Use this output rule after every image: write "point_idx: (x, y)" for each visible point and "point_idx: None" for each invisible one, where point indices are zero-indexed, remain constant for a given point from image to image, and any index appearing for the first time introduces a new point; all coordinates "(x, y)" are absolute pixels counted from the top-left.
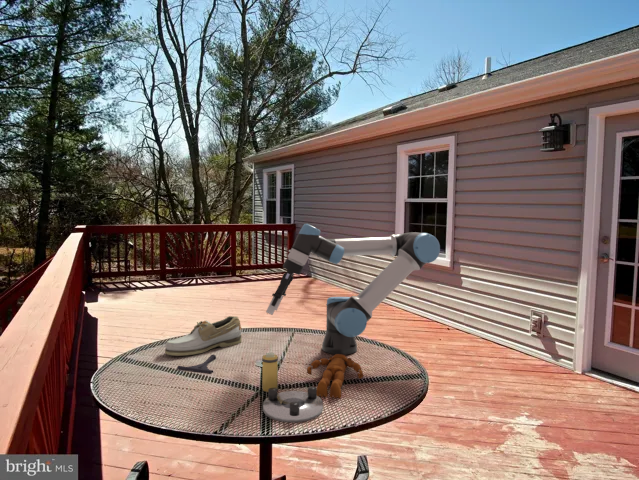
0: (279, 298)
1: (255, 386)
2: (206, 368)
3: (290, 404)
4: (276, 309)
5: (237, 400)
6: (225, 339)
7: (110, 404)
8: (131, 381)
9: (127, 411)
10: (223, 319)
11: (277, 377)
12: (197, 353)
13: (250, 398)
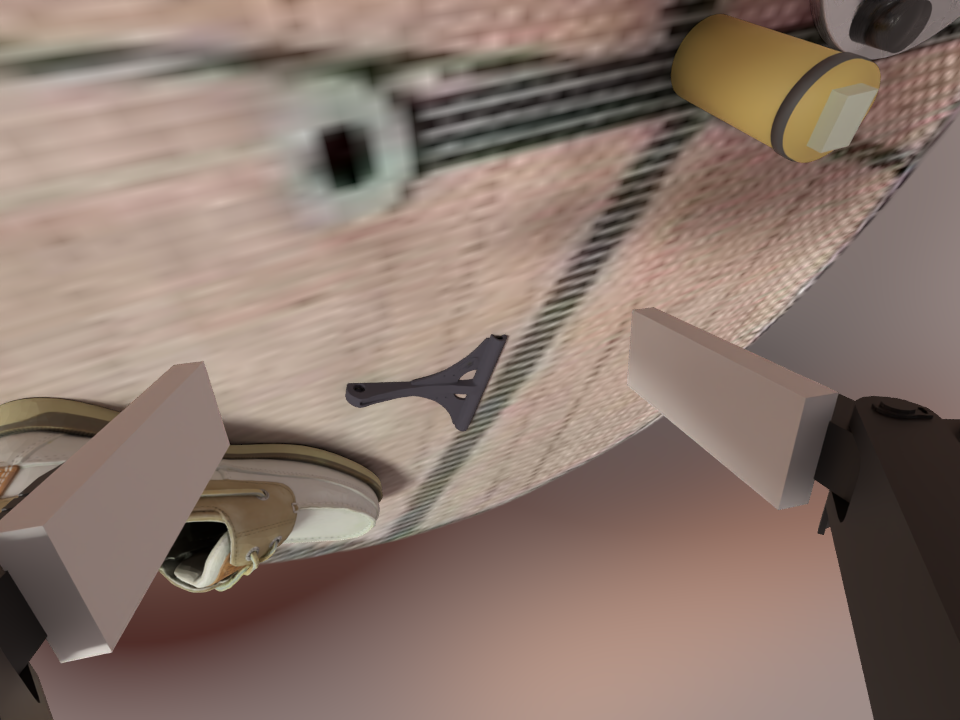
0: (899, 405)
1: (657, 138)
2: (464, 365)
3: None
4: (201, 373)
5: (751, 173)
6: None
7: (656, 414)
8: (546, 450)
9: None
10: None
11: (758, 27)
12: (319, 449)
13: None
